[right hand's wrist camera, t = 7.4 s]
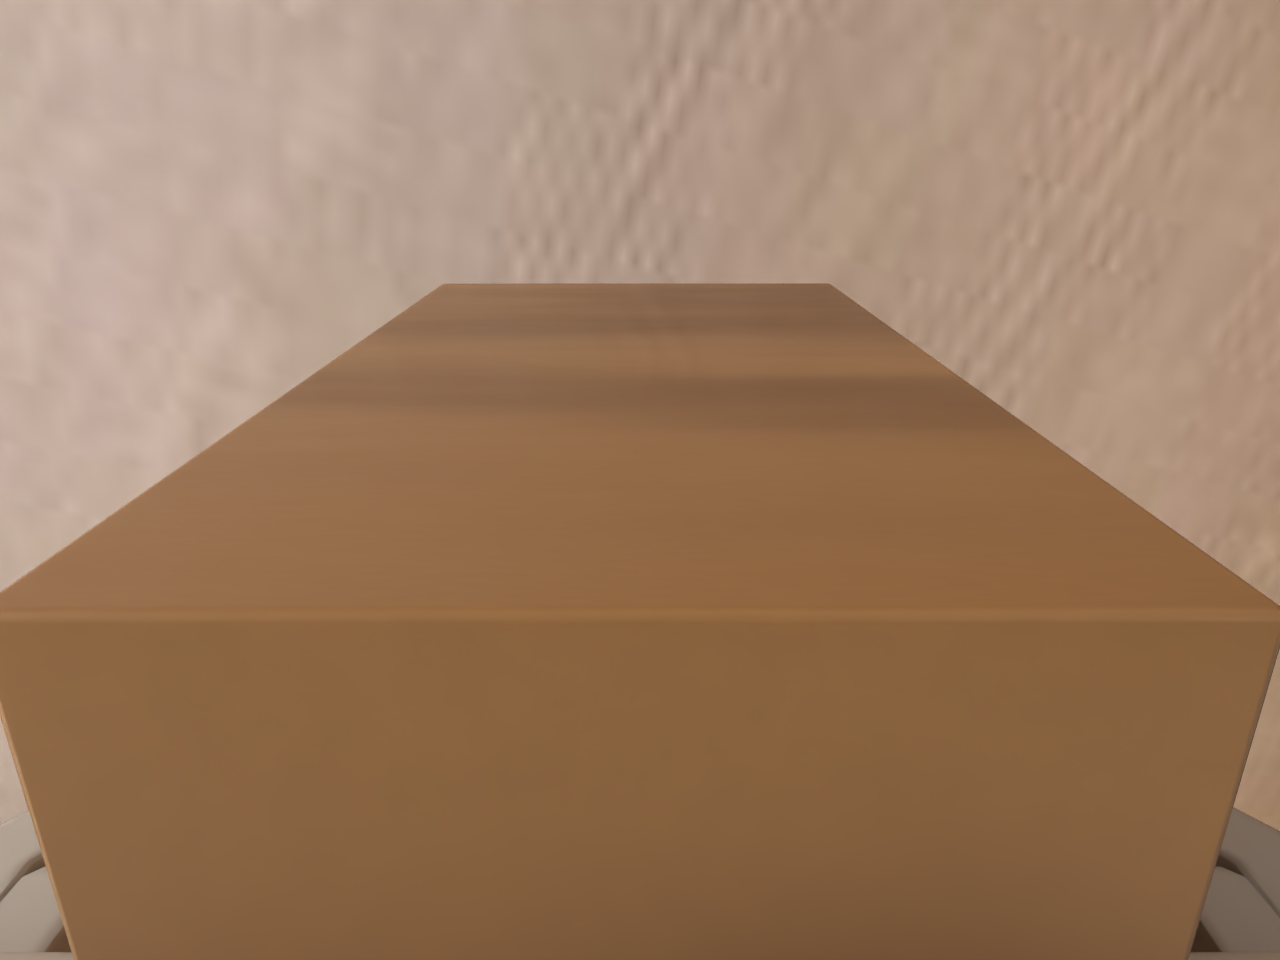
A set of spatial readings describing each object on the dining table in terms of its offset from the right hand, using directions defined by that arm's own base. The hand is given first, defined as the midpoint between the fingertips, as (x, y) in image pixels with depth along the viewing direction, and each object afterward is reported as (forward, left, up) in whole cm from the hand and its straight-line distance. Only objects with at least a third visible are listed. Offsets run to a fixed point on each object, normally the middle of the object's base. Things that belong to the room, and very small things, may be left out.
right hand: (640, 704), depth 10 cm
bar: (+8, 0, -4) cm, 9 cm away
